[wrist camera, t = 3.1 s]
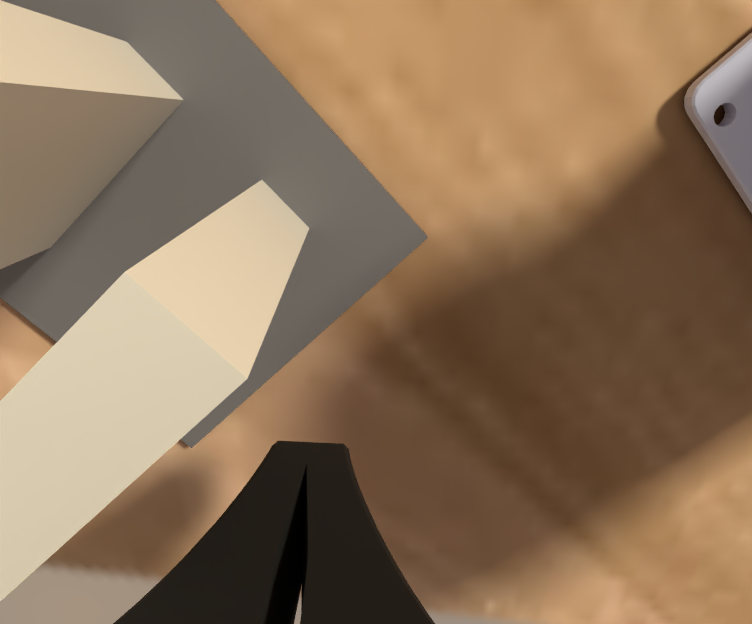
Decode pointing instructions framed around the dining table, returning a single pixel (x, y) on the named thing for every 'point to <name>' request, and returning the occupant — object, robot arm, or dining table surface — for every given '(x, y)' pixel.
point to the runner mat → (217, 184)
